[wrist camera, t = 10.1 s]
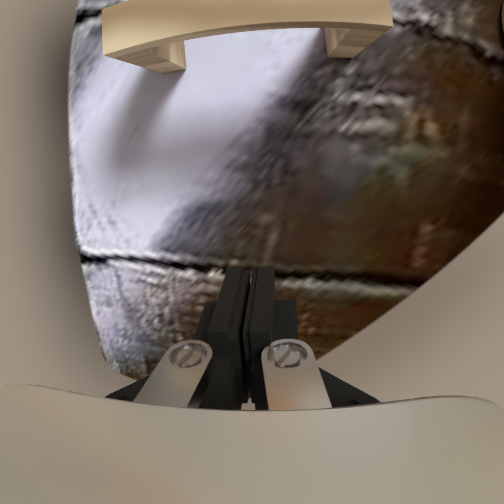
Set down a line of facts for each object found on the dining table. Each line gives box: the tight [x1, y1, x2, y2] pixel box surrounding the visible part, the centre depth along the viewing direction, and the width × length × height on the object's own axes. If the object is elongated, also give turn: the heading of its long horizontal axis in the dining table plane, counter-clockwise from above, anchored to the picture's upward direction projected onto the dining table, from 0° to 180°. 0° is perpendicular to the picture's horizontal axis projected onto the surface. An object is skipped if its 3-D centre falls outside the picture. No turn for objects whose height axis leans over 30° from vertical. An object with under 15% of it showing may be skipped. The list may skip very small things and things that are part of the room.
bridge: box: [102, 0, 393, 74], centre depth 16 cm, size 3×15×10 cm, turn 95°
